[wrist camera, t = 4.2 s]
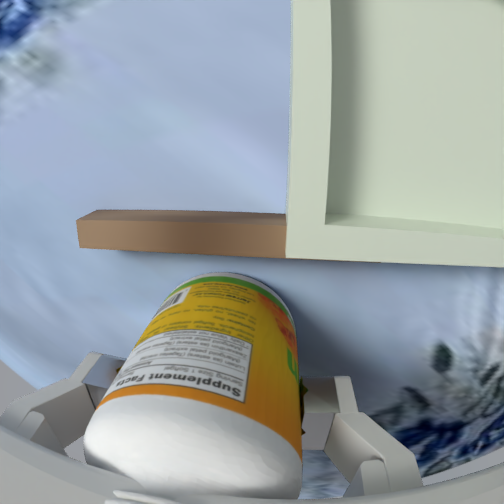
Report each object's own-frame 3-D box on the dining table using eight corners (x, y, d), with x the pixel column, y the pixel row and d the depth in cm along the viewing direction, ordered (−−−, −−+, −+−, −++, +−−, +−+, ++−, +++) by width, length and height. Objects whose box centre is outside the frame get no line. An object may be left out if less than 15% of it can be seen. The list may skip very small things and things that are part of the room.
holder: (372, 219, 10) (385, 231, 9) (333, 414, 14) (336, 437, 12) (97, 209, 11) (75, 220, 10) (132, 396, 14) (122, 416, 13)
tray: (540, 8, 6) (566, 0, 4) (538, 252, 10) (565, 269, 8) (289, -72, 7) (290, -103, 5) (284, 235, 11) (285, 257, 9)
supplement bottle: (288, 385, 13) (282, 603, 4) (168, 372, 14) (88, 564, 4) (303, 273, 11) (335, 574, 2) (157, 262, 12) (-15, 480, 3)
